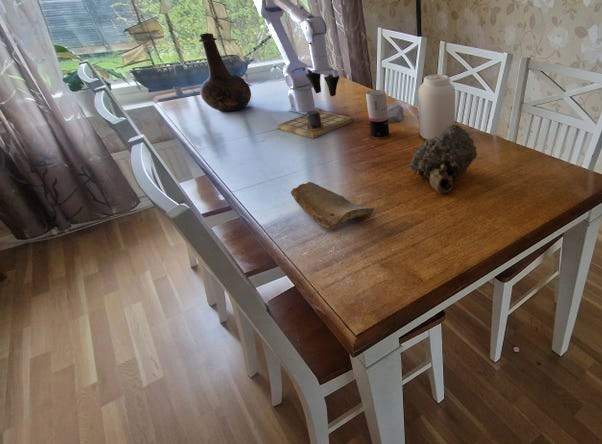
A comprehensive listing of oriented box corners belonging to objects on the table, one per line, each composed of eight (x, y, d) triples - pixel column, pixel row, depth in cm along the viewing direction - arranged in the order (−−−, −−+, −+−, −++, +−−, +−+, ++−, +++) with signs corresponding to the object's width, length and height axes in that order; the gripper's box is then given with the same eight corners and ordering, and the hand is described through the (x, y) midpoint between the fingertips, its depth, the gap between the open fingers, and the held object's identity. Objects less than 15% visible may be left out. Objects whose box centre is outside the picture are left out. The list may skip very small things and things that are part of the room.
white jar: (428, 144, 127) (427, 83, 115) (414, 132, 136) (411, 74, 124) (460, 138, 131) (462, 78, 120) (444, 126, 141) (445, 70, 129)
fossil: (325, 200, 101) (289, 206, 93) (326, 177, 98) (289, 181, 91) (375, 229, 88) (338, 239, 81) (377, 204, 86) (339, 211, 79)
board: (278, 128, 137) (277, 124, 136) (318, 113, 151) (318, 109, 151) (313, 138, 130) (312, 133, 129) (352, 121, 144) (352, 117, 143)
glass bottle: (263, 106, 158) (243, 33, 143) (222, 118, 146) (196, 38, 130) (238, 99, 166) (217, 29, 150) (197, 110, 154) (170, 34, 138)
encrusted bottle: (447, 110, 102) (457, 119, 89) (481, 147, 108) (496, 161, 95) (401, 158, 106) (403, 173, 92) (436, 191, 111) (444, 210, 98)
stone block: (400, 126, 145) (405, 113, 152) (398, 115, 141) (403, 102, 148) (370, 126, 146) (376, 113, 153) (368, 115, 142) (374, 102, 149)
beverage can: (366, 136, 131) (361, 93, 123) (378, 131, 136) (373, 88, 128) (382, 140, 129) (377, 96, 120) (393, 134, 134) (389, 91, 125)
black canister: (306, 126, 134) (303, 113, 132) (315, 123, 138) (313, 109, 135) (315, 129, 133) (312, 115, 130) (324, 125, 136) (322, 111, 133)
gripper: (296, 55, 134) (303, 93, 142) (325, 59, 128) (332, 99, 136) (311, 52, 139) (317, 89, 147) (340, 56, 133) (345, 95, 141)
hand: (325, 94), depth 141 cm, fingers open, 7 cm apart
